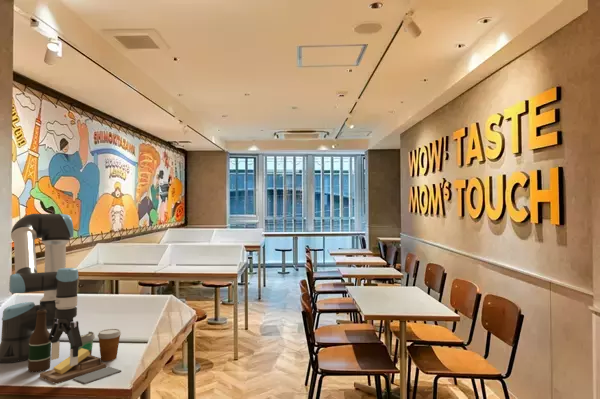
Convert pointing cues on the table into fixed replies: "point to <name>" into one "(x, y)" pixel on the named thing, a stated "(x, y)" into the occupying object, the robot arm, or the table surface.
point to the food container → (87, 341)
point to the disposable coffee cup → (109, 343)
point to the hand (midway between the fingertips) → (64, 362)
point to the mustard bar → (65, 364)
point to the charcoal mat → (96, 375)
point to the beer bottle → (39, 345)
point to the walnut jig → (75, 370)
